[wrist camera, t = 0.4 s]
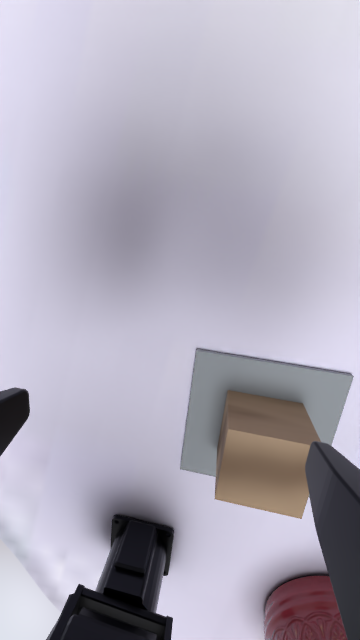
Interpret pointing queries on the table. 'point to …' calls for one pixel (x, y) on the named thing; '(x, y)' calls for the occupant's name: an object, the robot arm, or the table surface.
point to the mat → (258, 379)
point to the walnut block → (264, 453)
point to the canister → (304, 611)
